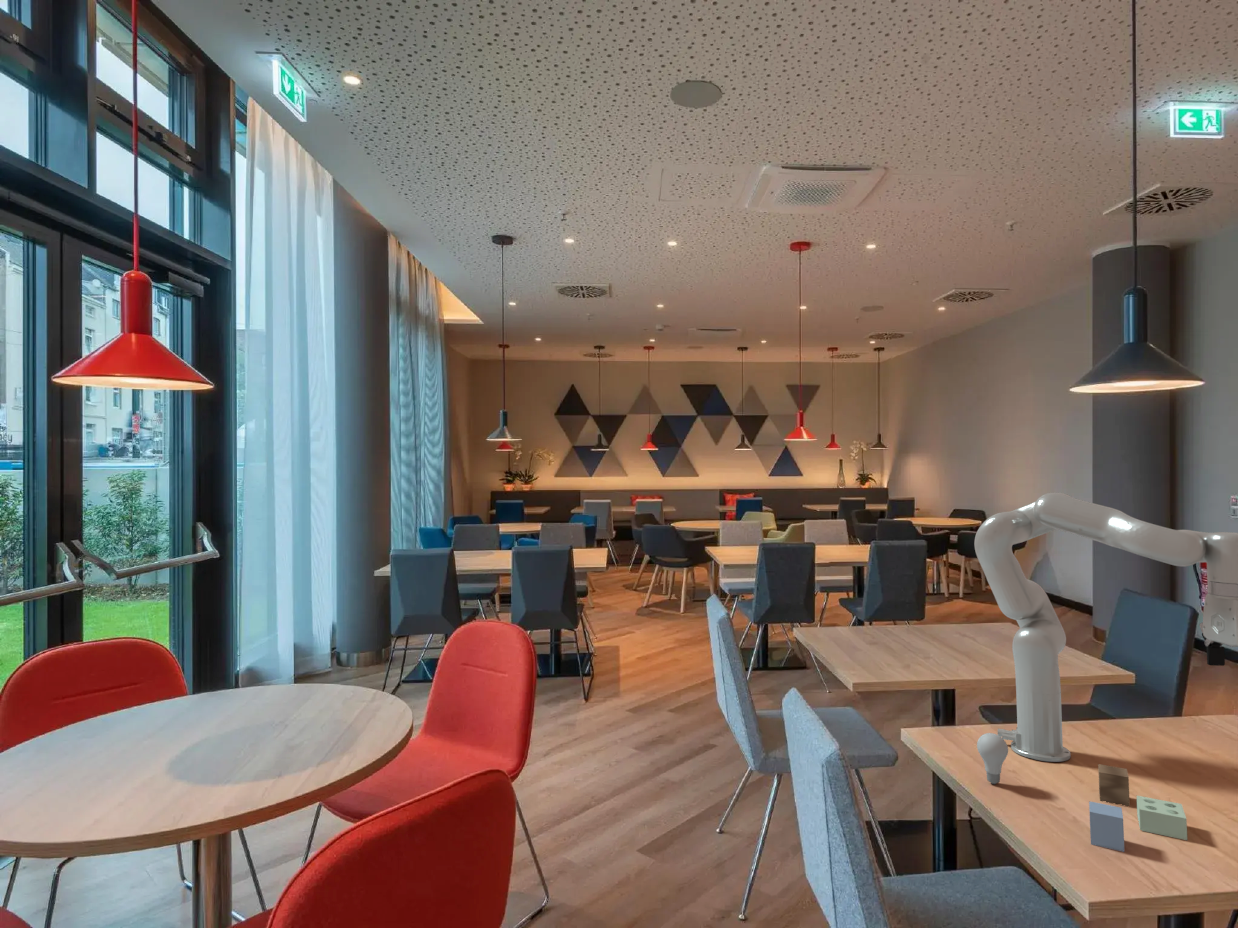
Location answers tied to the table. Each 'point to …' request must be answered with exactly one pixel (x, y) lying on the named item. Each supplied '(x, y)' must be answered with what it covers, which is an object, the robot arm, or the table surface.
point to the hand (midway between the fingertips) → (1233, 671)
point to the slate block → (1106, 826)
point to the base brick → (1161, 817)
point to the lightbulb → (992, 755)
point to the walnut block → (1113, 784)
